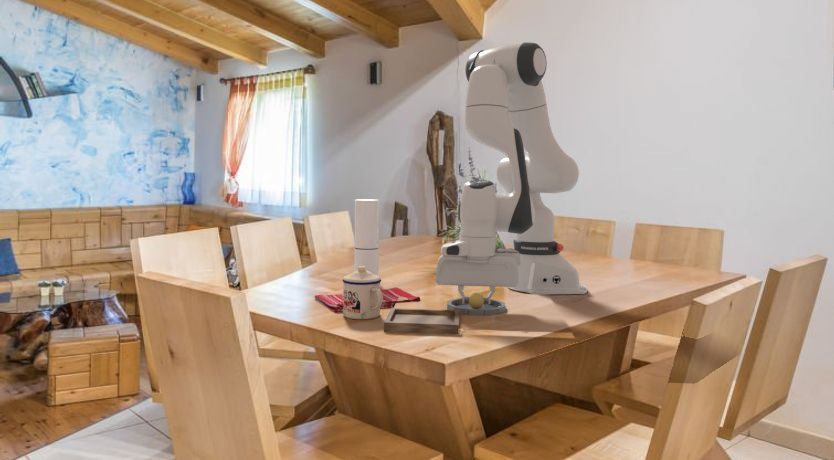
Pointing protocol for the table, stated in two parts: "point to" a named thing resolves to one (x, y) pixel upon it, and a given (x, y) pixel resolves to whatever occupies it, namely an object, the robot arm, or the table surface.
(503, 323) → the table surface
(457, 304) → the dish
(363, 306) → the teacup with lid
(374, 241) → the cylindrical container
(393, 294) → the dish towel
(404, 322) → the tray
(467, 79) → the robot arm
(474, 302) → the ball
